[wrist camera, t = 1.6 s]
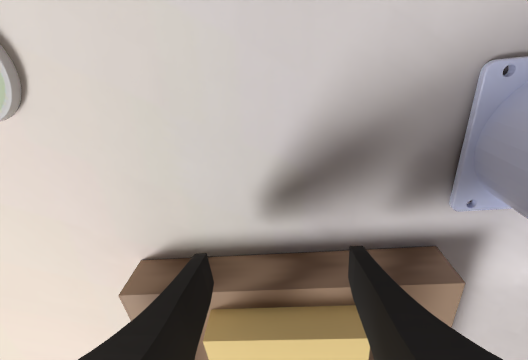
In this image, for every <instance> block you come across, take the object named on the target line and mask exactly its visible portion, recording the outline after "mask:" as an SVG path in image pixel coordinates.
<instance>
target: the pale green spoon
mask: <svg viewBox="0 0 528 360" xmlns="http://www.w3.org/2000/svg"><path fill="white" fill-rule="evenodd" d="M21 96H22V89H21V83H20V79H19V75H18V72H17V70H16V68H15V66H14V64H13V62H12V60H11V58H10V57H9V55H8V54H7V52H6V51H5V50H4V48H3V47H2V46H1V45H0V121H3V120H6V119H8V118H10V117H11V116H12V115H14V113H15V112H16V111H17V109H18V108H19V105H20V102H21Z"/></svg>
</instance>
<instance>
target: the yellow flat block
mask: <svg viewBox="0 0 528 360" xmlns="http://www.w3.org/2000/svg"><path fill="white" fill-rule="evenodd" d="M203 344H204V347H205V350H206V353H207V356H208V359H209V360H369V351H370V345H369V342H368V339H367V336H366V334H365V331H364V328H363V325H362V322H361V320H360V317H359V314H358V311H357V308H356V305H346V306H313V307H279V308H246V309H213V310H211V311H210V315H209V319H208V323H207V327H206V331H205V335H204V339H203Z"/></svg>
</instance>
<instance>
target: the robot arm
mask: <svg viewBox="0 0 528 360" xmlns="http://www.w3.org/2000/svg"><path fill="white" fill-rule="evenodd" d="M506 66H509V70H508V72H507V73H506V74H505V75H503V70H504V68H505V67H506ZM470 200H472V201H471V202H470V203H469V204H467V203H468V202H469V201H470ZM449 205H450V206H451V208H453V209H454V210H455V211H476V210H493V209H510V208H513V209H514V210H516V211H517V212H518V213H520V214H521V215H523V216H524V217H526V218H527V219H528V56H524V57H515V58H505V59H496V60H492V61H489V62H488V63H486V64H485V65H484V66H483V67H482V69H481V72H480V75H479V79H478V84H477V88H476V92H475V96H474V100H473V105H472V109H471V113H470V117H469V121H468V126H467V130H466V134H465V138H464V143H463V147H462V151H461V155H460V159H459V164H458V168H457V172H456V176H455V180H454V185H453V189H452V193H451V197H450V201H449ZM348 279H349V284H350V288H351V292H352V297H353V300H354V303H355V305H356V308H357V311H358V314H359V317H360V320H361V322H362V325H363V328H364V331H365V334H366V336H367V339H368V342H369V345H370V348H371V351H372V355H373V358H374V360H503V359H501V358H499V357H497V356H496V355H494V354H492V353H490V352H488V351H487V350H485V349H483V348H482V347H480V346H478V345H477V344H475V343H474V342H472V341H470V340H469V339H467V338H466V337H464V336H463V335H461V334H460V333H458V332H457V331H455V330H454V329H452V328H451V327H450V326H448V325H447V324H445V323H444V322H442V321H441V320H440V319H438V318H437V317H435V316H434V315H433V314H432V313H430V312H429V311H428V310H426V309H425V308H424V307H423V306H422V305H420V304H419V303H418V302H417V301H416V300H414V299H413V298H412V297H411V296H410V295H409V294H408V293H407V292H406V291H405V290H403V289H402V288H401V287H400V286H399V285H398V284H397V283H396V282H395V281H394V280H393V279H392V278H391V277H390V276H389V275H388V274H387V273H386V272H385V271H384V270H383V268H382V267H381V266H380V265H379V264H378V263H377V262H376V261H375V260H374V258H373V257H372V256H371V255H370V254H369V253H368V251H367V250H366V249H365V248H364V247H363V246H350V247H349V267H348ZM213 286H214V280H213V276H212V272H211V268H210V264H209V260H208V256H207V253H204V254H195V255H194V256H193V257H192V258H191V259H190V261H189V262H188V263H187V264H186V265H185V267H184V268H183V269H182V270H181V271H180V272H179V274H178V275H177V276H176V277H175V278H174V279H173V281H172V282H171V283H170V284H169V285H168V286H167V287H166V288H165V289H164V290H163V292H162V293H161V294H160V295H159V296H158V297H157V298H156V299H155V300H154V301H153V302H152V303H151V304H150V305H149V306H148V307H147V308H146V309H145V310H143V311H142V312H141V313H140V314H139V315H138V316H137V317H136V318H134V319H133V320H132V321H131V322H130V323H128V324H127V325H126V326H125V327H123V328H122V329H121V330H120V331H118V332H117V333H116V334H114V335H113V336H112V337H110V338H109V339H108V340H106V341H105V342H104V343H102V344H101V345H99V346H98V347H96V348H95V349H93V350H92V351H91V352H89V353H88V354H86V355H84V356H83V357H81V358H80V359H78V360H195V355H196V351H197V347H198V344H199V341H200V337H201V334H202V330H203V327H204V324H205V320H206V317H207V314H208V310H209V307H210V303H211V298H212V293H213Z"/></svg>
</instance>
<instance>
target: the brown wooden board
mask: <svg viewBox="0 0 528 360" xmlns="http://www.w3.org/2000/svg"><path fill="white" fill-rule="evenodd" d="M367 251H368V253H369V254H370V255H371V256H372V257H373V258H374V260H375V261H376V262H377V263H378V264H379V265H380V266H381V267H382V268H383V270H384V271H385V272H386V273H387V274H388V275H389V276H390V277H391V278H392V279H393V280H394V281H395V282H396V283H397V284H398V285H399V286H400V287H401V288H402V289H403V290H405V291H406V292H407V293H408V294H409V295H410V296H411V297H412V298H413V299H414V300H416V301H417V302H418V303H419V304H420V305H422V306H423V307H424V308H425V309H426V310H428V311H429V312H430V313H432V314H433V315H434V316H435V317H437V318H438V319H440V320H441V321H442V322H444V323H445V324H447V325H448V326H450V327H452V324H453V321H454V317H455V314H456V311H457V308H458V305H459V302H460V299H461V295H462V292H463V289H464V286H465V282H464V281H463V279H462V278H461V277H460V276H459V274H458V273H457V272H456V271H455V269H454V268H453V267H452V266H451V264H450V263H449V262H448V261H447V259H446V258H445V257H444V255H443V254H442V253H441V252H440V250H439V249H438V248H437V247H436V246H431V247H410V248H389V249H368V250H367ZM190 259H191V258H180V259H160V260H141V261H140V263H139V264H138V266H137V268H136V269H135V271H134V272H133V274H132V275H131V277H130V278H129V280H128V282H127V283H126V285H125V286H124V288H123V289H122V291H121V292H120V294H119V298H120V300H121V302H122V304H123V306H124V308H125V310H126V312H127V314H128V316H129V318H130V320H131V321H132V320H133V319H134V318H136V317H137V316H138V315H139V314H140V313H141V312H142V311H143V310H145V309H146V308H147V307H148V306H149V305H150V304H151V303H152V302H153V301H154V300H155V299H156V298H157V297H158V296H159V295H160V294H161V293H162V292H163V290H164V289H165V288H166V287H167V286H168V285H169V284H170V283H171V282H172V281H173V279H174V278H175V277H176V276H177V275H178V274H179V272H180V271H181V270H182V269H183V268H184V267H185V265H186V264H187V263H188V262H189V261H190ZM208 260H209V264H210V268H211V272H212V276H213V280H214V286H213V293H212V298H211V303H210V307H209V310H208V314H207V317H206V320H205V324H204V327H203V330H202V334H201V337H200V341H199V344H198V347H197V351H196V355H195V360H209V359H208V356H207V353H206V350H205V347H204V344H203V339H204V335H205V331H206V327H207V323H208V319H209V315H210V311H211V310H213V309H246V308H279V307H313V306H346V305H355V303H354V300H353V297H352V292H351V288H350V284H349V279H348V267H349V250H347V251H326V252H306V253H285V254H264V255H243V256H222V257H208ZM369 360H374V358H373V355H372V351H371V348H370V351H369Z"/></svg>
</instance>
